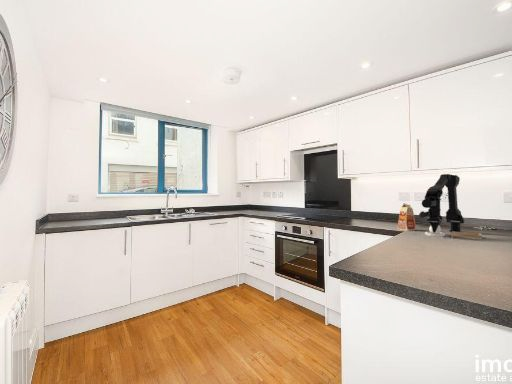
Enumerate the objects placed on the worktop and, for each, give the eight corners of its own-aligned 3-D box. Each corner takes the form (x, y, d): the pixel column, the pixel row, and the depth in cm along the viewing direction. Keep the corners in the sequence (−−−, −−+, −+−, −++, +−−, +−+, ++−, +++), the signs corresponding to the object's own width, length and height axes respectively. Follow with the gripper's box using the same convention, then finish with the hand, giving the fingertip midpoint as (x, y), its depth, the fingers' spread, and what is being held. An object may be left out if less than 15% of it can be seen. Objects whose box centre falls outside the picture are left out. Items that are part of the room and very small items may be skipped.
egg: (432, 234, 161) (432, 222, 161) (442, 235, 156) (442, 223, 156) (427, 234, 158) (427, 223, 158) (438, 236, 153) (437, 224, 153)
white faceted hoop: (426, 233, 164) (426, 231, 165) (446, 234, 157) (446, 232, 157) (424, 235, 157) (424, 232, 157) (444, 236, 150) (444, 234, 150)
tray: (452, 234, 159) (451, 231, 159) (481, 236, 150) (481, 233, 150) (450, 236, 150) (450, 233, 150) (481, 239, 141) (481, 235, 141)
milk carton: (407, 230, 177) (406, 203, 177) (396, 229, 186) (396, 202, 186) (416, 230, 179) (416, 203, 180) (406, 228, 188) (405, 202, 188)
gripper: (422, 206, 170) (422, 228, 169) (417, 207, 156) (417, 232, 156) (442, 207, 162) (442, 230, 162) (439, 208, 148) (439, 233, 148)
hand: (435, 231), depth 157 cm, fingers open, 9 cm apart
